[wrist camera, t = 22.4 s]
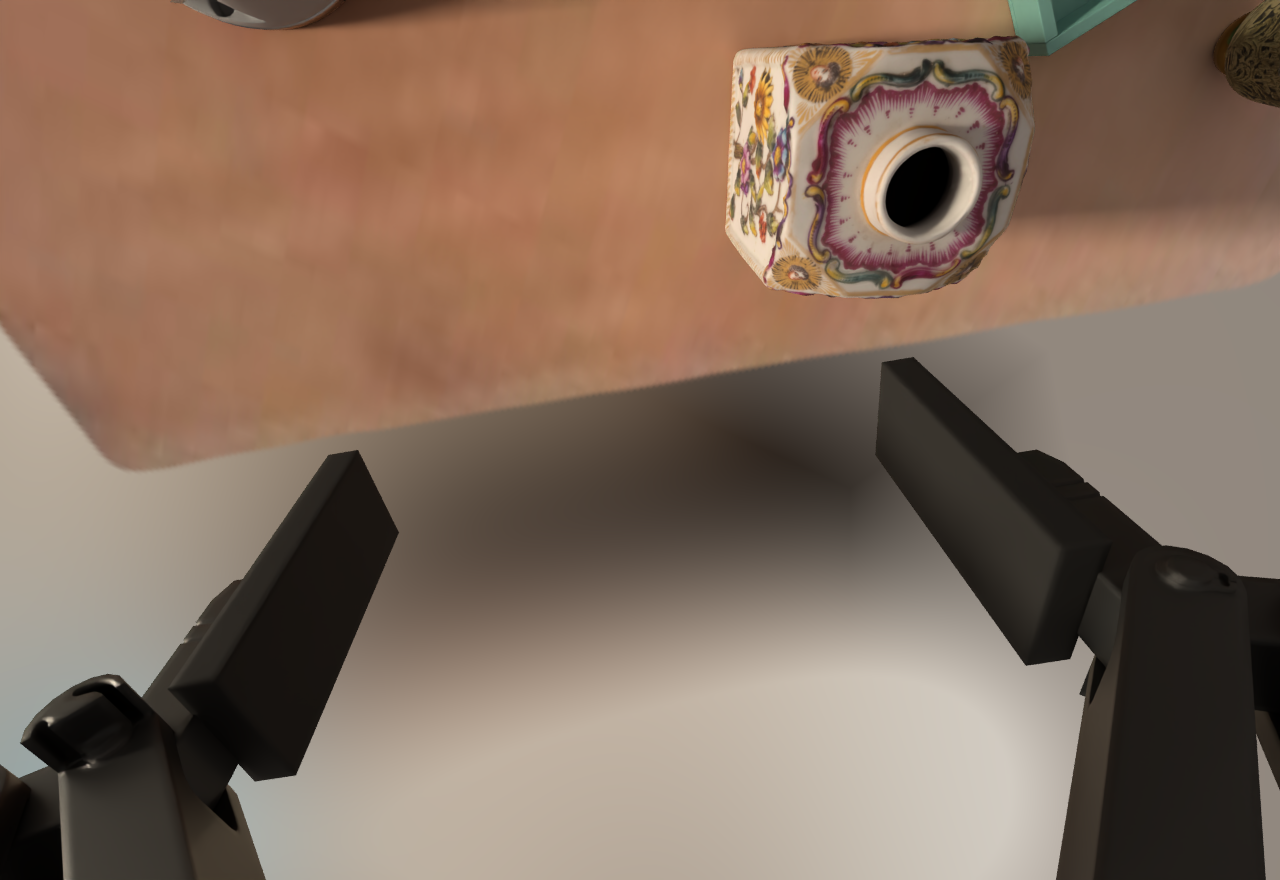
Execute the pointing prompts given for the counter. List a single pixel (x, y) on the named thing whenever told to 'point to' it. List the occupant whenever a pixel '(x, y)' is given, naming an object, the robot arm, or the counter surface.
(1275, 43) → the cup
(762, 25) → the counter surface
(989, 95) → the decorative jar
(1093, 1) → the tray
